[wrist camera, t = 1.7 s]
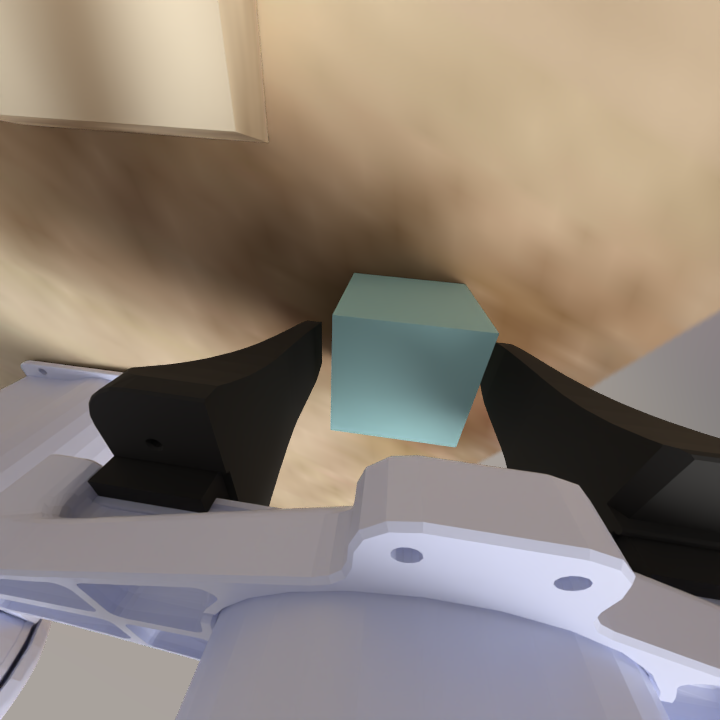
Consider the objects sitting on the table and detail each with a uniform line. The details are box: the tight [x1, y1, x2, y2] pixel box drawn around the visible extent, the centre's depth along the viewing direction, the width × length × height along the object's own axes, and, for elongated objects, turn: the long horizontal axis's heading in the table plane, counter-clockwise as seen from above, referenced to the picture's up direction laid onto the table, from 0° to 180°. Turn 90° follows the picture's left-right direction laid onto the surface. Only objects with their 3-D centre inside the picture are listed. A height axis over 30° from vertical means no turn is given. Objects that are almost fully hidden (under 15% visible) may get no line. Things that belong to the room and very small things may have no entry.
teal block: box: [331, 273, 499, 447], centre depth 12 cm, size 5×5×5 cm
